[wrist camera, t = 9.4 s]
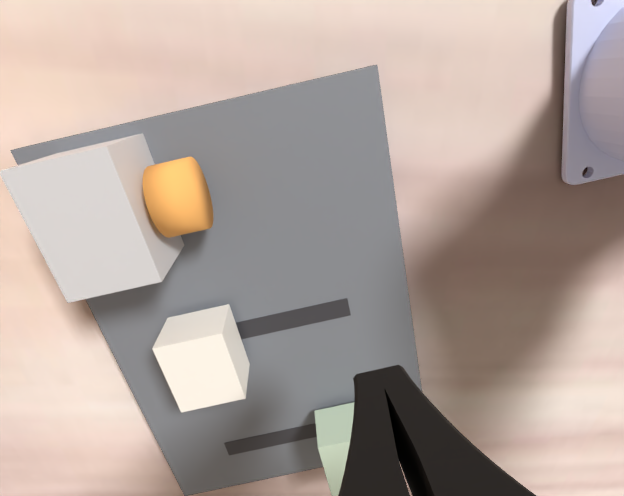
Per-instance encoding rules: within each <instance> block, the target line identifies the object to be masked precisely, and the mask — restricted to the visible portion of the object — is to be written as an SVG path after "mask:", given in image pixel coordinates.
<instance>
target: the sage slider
mask: <svg viewBox="0 0 624 496" xmlns="http://www.w3.org/2000/svg"><path fill="white" fill-rule="evenodd" d="M314 412H315V422H316V433H317V444H318V450H319V453H320V457H321V460H322V464H323V467H324V471H325V474H326V478H327V481H328V485H329V488H330V491H331V495H332V496H338V495H339V491H340V488H341V484H342V479H343V475H344V471H345V466H346V461H347V455H348V450H349V445H350V439H351V432H352V423H353V415H354V402H353V403H348V404H344V405H339V406H334V407H330V408H325V409H320V410H316V411H314Z"/></svg>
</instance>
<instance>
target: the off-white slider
mask: <svg viewBox="0 0 624 496" xmlns="http://www.w3.org/2000/svg"><path fill="white" fill-rule="evenodd" d="M152 350H153V352H154V354H155V356H156V358H157V361H158V363H159V365H160V367H161V369H162V372H163V374H164V376H165V378H166V380H167V383H168V385H169V387H170V389H171V391H172V394H173V396H174V398H175V400H176V402H177V405H178V407H179V409H180V411H181V413H182V412H186V411H191V410H195V409H200V408H205V407H209V406H214V405H219V404H223V403H228V402H232V401H237V400H242V399H246V391H247V383H248V375H249V366H250V363H249V360H248V358H247V355H246V352H245V349H244V346H243V343H242V340H241V337H240V334H239V331H238V328H237V325H236V323H235V320H234V317H233V314H232V311H231V308H230V305H229V304H227V305H223V306H218V307H214V308H209V309H205V310H200V311H196V312H191V313H187V314H182V315H178V316H173V317H169V318H167V320H166V322H165V324H164V326H163V328H162V330H161V332H160V334H159V336H158V338H157V340H156V342H155V344H154V346H153V348H152Z"/></svg>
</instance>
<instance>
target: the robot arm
mask: <svg viewBox="0 0 624 496" xmlns="http://www.w3.org/2000/svg"><path fill="white" fill-rule="evenodd" d="M585 168H587V169H588V170H587V173H586V174H585V175H583V176H582V172H583V170H584V169H585ZM623 174H624V0H597V2H596V4H595V6H593V5H592V3H591V0H568V3H567V18H566V49H565V81H564V112H563V144H562V180H563V181H564V182H565V183H567V184H570V185H578V184H583V183H587V182H592V181H596V180H601V179H605V178H610V177H614V176H618V175H623ZM353 381H354V394H355V397H354V415H353V423H352V432H351V439H350V445H349V450H348V455H347V461H346V466H345V471H344V475H343V479H342V484H341V488H340V491H339V495H338V496H410V495H409V492H408V489H407V485H406V482H405V479H404V476H403V473H402V470H401V467H402V469H403V472H404V474H405V477H406V480H407V482H408V485H409V487H410V490H411V493H412V495H413V496H536V495H535V494H533V493H532V492H530V491H529V490H528V489H526V488H525V487H524V486H523V485H521V484H520V483H519V482H517V481H516V480H515V479H514V478H512V477H511V476H510V475H508V474H507V473H506V472H505V471H503V470H502V469H501V468H500V467H499V466H497V465H496V464H495V463H494V462H492V461H491V460H490V459H489V458H488V457H487V456H485V455H484V454H483V453H482V452H481V451H480V450H479V449H477V448H476V447H475V446H474V445H473V444H472V443H471V442H470V441H469V440H468V439H467V438H466V437H464V436H463V435H462V434H461V433H460V432H459V431H458V430H457V429H456V428H455V427H454V426H453V425H452V424H451V423H450V422H449V421H448V420H447V419H446V418H445V417H444V416H443V415H442V414H441V413H440V412H439V410H438V409H437V408H436V407H435V406H434V405H433V404H432V403H431V402H430V401H429V400H428V399H427V397H426V396H425V395H424V394H423V393H422V391H421V390H420V389H419V388H418V387H417V385H416V384H415V383H414V382H413V380H412V379H411V378H410V376H409V375H408V374H407V372H406V371H405V369H404V368H403V367H402V366H400V365H395V366H390V367H386V368H381V369H377V370H372V371H368V372H363V373H359V374H356V375H355V376H354V378H353ZM399 461H400V463H399ZM400 464H401V467H400Z"/></svg>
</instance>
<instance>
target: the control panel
mask: <svg viewBox="0 0 624 496" xmlns="http://www.w3.org/2000/svg"><path fill="white" fill-rule="evenodd" d="M10 151H11V153H12V155H13V157H14V159H15V160H16V162H17V164H18V165H17V166H14V167H11V168H8V169H4V170H1V171H0V175H1V177H2V179H3V181H4V183H5V185H6V187H7V189H8V191H9V193H10V194H11V196H12V198H13V200H14V202H15V204H16V206H17V208H18V210H19V212H20V213H21V215H22V217H23V219H24V221H25V223H26V225H27V227H28V229H29V231H30V232H31V234H32V236H33V238H34V240H35V242H36V244H37V246H38V248H39V250H40V251H41V253H42V255H43V257H44V259H45V261H46V263H47V265H48V267H49V269H50V270H51V272H52V274H53V276H54V278H55V280H56V282H57V284H58V286H59V287H60V289H61V291H62V293H63V295H64V297H65V299H66V301H67V303H70V302H74V301H79V300H83V299H86V301H87V303H88V305H89V307H90V309H91V311H92V313H93V315H94V317H95V319H96V321H97V323H98V325H99V327H100V329H101V331H102V333H103V335H104V337H105V339H106V341H107V343H108V345H109V347H110V349H111V351H112V353H113V355H114V357H115V359H116V361H117V363H118V365H119V367H120V369H121V371H122V373H123V375H124V377H125V379H126V381H127V383H128V385H129V387H130V389H131V391H132V392H133V394H134V396H135V398H136V400H137V402H138V404H139V406H140V408H141V410H142V412H143V414H144V416H145V418H146V420H147V422H148V424H149V426H150V428H151V430H152V432H153V434H154V436H155V438H156V440H157V442H158V444H159V446H160V448H161V450H162V452H163V454H164V456H165V458H166V460H167V462H168V464H169V466H170V468H171V470H172V472H173V474H174V476H175V478H176V480H177V482H178V484H179V486H180V488H181V490H182V492H183V494H184V496H188V495H193V494H197V493H202V492H207V491H212V490H216V489H221V488H226V487H230V486H235V485H240V484H245V483H249V482H254V481H259V480H263V479H268V478H273V477H278V476H282V475H287V474H292V473H296V472H301V471H306V470H311V469H315V468H320V467H323V464H322V460H321V457H320V453H319V450H318V444H317V433H316V422H315V412H314V411H316V410H320V409H325V408H330V407H334V406H339V405H344V404H348V403H353V402H354V397H355V394H354V381H353V378H354V376H355V375H356V374H359V373H363V372H368V371H372V370H377V369H381V368H386V367H390V366H395V365H400V366H402V367H403V368H404V369H405V371H406V372H407V374H408V375H409V376H410V378H411V379H412V380H413V382H414V383H415V384H416V385H417V387H418V388H419V389H420V390H421V391H422V389H421V381H420V374H419V367H418V359H417V352H416V345H415V337H414V330H413V323H412V315H411V308H410V301H409V294H408V286H407V279H406V272H405V264H404V257H403V250H402V242H401V235H400V228H399V220H398V213H397V206H396V198H395V191H394V184H393V176H392V169H391V162H390V155H389V147H388V140H387V133H386V125H385V118H384V111H383V103H382V96H381V89H380V81H379V74H378V67H377V65H373V66H369V67H365V68H360V69H356V70H352V71H347V72H343V73H339V74H335V75H330V76H326V77H322V78H317V79H313V80H309V81H305V82H300V83H296V84H292V85H287V86H283V87H279V88H275V89H270V90H266V91H262V92H257V93H253V94H249V95H245V96H240V97H236V98H232V99H227V100H223V101H219V102H215V103H210V104H206V105H202V106H197V107H193V108H189V109H185V110H180V111H176V112H172V113H167V114H163V115H159V116H155V117H150V118H146V119H142V120H137V121H133V122H129V123H125V124H120V125H116V126H112V127H107V128H103V129H99V130H95V131H90V132H86V133H82V134H77V135H73V136H69V137H65V138H60V139H56V140H52V141H47V142H43V143H39V144H35V145H30V146H26V147H22V148H18V149H14V150H10ZM186 157H193V158H194V159H195V160H196V161H197V163H198V164H199V166H200V168H201V170H202V172H203V174H204V177H205V179H206V182H207V185H208V188H209V192H210V196H211V201H212V206H213V225H212V227H211V228H210V229H206V230H201V231H197V232H192V233H188V234H183V235H179V236H175V237H170V238H168V237H165V236H164V235H162V234H161V233H160V231H159V230H158V229H157V227H156V226H155V224H154V222H153V220H152V218H151V216H150V214H149V211H148V208H147V205H146V201H145V197H144V192H143V173H144V170H145V168H146V167H148V166H151V165H155V164H160V163H164V162H168V161H173V160H177V159H181V158H186ZM227 304H229V305H230V308H231V311H232V314H233V317H234V320H235V323H236V325H237V328H238V331H239V334H240V337H241V340H242V343H243V346H244V349H245V352H246V355H247V358H248V360H249V363H250V366H249V375H248V383H247V391H246V399H242V400H237V401H232V402H228V403H223V404H219V405H214V406H209V407H205V408H200V409H195V410H191V411H186V412H182V413H181V411H180V409H179V407H178V405H177V402H176V400H175V398H174V396H173V394H172V391H171V389H170V387H169V385H168V383H167V380H166V378H165V376H164V374H163V372H162V369H161V367H160V365H159V363H158V361H157V358H156V356H155V354H154V352H153V350H152V348H153V346H154V344H155V342H156V340H157V338H158V336H159V334H160V332H161V330H162V328H163V326H164V324H165V322H166V320H167V318H169V317H173V316H178V315H182V314H187V313H191V312H196V311H200V310H205V309H209V308H214V307H218V306H223V305H227Z"/></svg>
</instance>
